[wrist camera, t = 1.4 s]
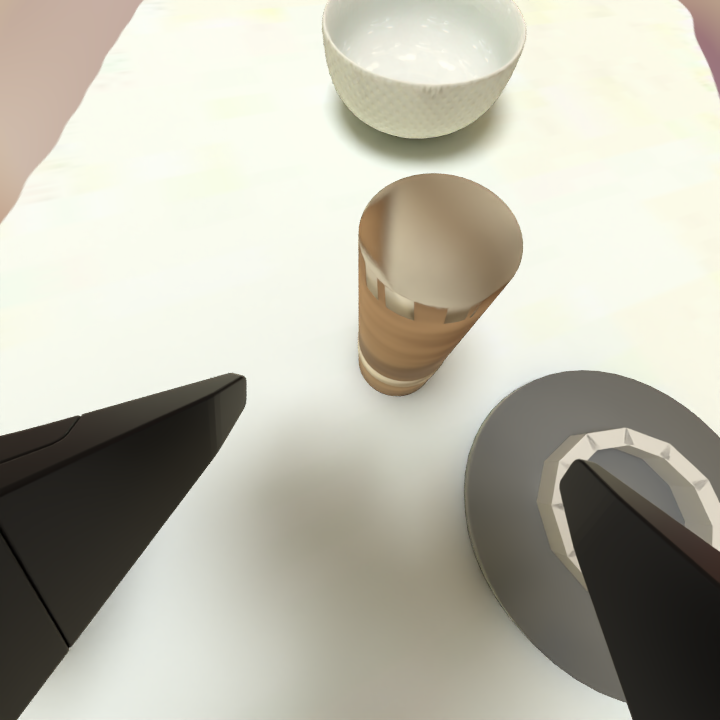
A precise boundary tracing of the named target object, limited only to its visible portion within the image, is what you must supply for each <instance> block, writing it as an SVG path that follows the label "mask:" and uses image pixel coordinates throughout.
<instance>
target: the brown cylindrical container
mask: <svg viewBox="0 0 720 720" xmlns="http://www.w3.org/2000/svg"><path fill="white" fill-rule="evenodd" d="M358 251H359V332H358V352H359V366H360V370H361V373H362V375H363V377H364V379H365V380H366V381H367V383H368V384H369V385H370V386H371V387H373V388H374V389H375V390H377V391H379V392H381V393H383V394H386V395H391V396H403V395H408V394H411V393H413V392H415V391H417V390H418V389H420V388H421V387H422V386H423V385H424V384H425V383H426V382H427V380H428V379H429V378H430V377H431V376H432V375H433V374H434V373H435V372H436V371H437V370H438V368H439V367H440V366H441V365H442V363H443V362H444V360H445V359H446V357H447V356H448V355H449V354H450V353H451V351H452V350H453V349H454V348H455V347H456V345H457V344H458V343H459V342H460V341H461V339H462V338H463V337H464V336H465V335H466V333H467V332H468V331H469V330H470V329H471V327H472V326H473V325H474V324H475V323H476V321H477V320H478V319H479V318H480V317H481V315H482V314H483V313H484V312H485V311H486V309H487V308H488V307H489V306H490V305H491V303H492V302H493V301H494V300H495V299H496V297H497V296H498V295H499V294H500V292H501V291H502V290H503V289H504V288H505V286H506V285H507V284H508V283H509V282H510V280H511V279H512V278H513V277H514V275H515V273H516V271H517V270H518V268H519V265H520V262H521V259H522V253H523V239H522V233H521V230H520V227H519V224H518V222H517V220H516V218H515V216H514V215H513V213H512V211H511V210H510V209H509V207H508V206H507V205H506V204H505V203H504V202H503V201H502V200H501V199H500V198H499V197H498V196H497V195H495V194H494V193H493V192H491V191H490V190H489V189H487V188H485V187H483V186H482V185H480V184H478V183H476V182H473V181H471V180H468V179H465V178H462V177H458V176H454V175H448V174H436V173H431V174H419V175H413V176H410V177H406V178H403V179H400V180H398V181H395V182H393V183H391V184H390V185H388V186H386V187H385V188H383V189H382V190H381V191H379V192H378V193H377V194H376V195H375V196H374V197H373V198H372V199H371V201H370V202H369V203H368V205H367V206H366V208H365V210H364V212H363V214H362V217H361V220H360V224H359V234H358Z"/></svg>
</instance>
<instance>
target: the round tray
mask: <svg viewBox="0 0 720 720" xmlns="http://www.w3.org/2000/svg"><path fill="white" fill-rule="evenodd" d="M576 459H583V460H587V461H591V462H595V463H597V464H598V465H600V466H601V467H602V468H604V469H605V470H607V471H608V472H609V473H611V474H612V475H614V476H615V477H616V478H618V479H619V480H621V481H622V482H623V483H625V484H626V485H628V486H629V487H630V488H632V489H633V490H635V491H636V492H637V493H639V494H640V495H642V496H643V497H644V498H646V499H647V500H649V501H650V502H651V503H653V504H654V505H655V506H657V507H658V508H660V509H661V510H662V511H664V512H665V513H667V514H668V515H669V516H671V517H672V518H674V519H675V520H676V521H678V522H679V523H681V524H682V525H683V526H685V527H686V528H688V529H689V530H690V531H692V532H693V533H695V534H696V535H697V536H699V537H700V538H702V539H703V540H704V541H706V542H707V543H709V544H710V545H711V546H713V547H714V548H715V549H717V550H718V551H720V438H719V437H718V435H717V434H716V433H715V432H714V431H713V430H712V429H710V428H709V427H708V426H707V425H706V424H705V423H704V422H703V421H702V420H701V419H700V418H699V417H697V416H696V415H695V414H694V413H692V412H691V411H690V410H689V409H687V408H686V407H685V406H683V405H682V404H680V403H679V402H677V401H676V400H674V399H673V398H671V397H670V396H668V395H666V394H664V393H662V392H661V391H659V390H657V389H655V388H653V387H651V386H649V385H646V384H644V383H641V382H639V381H636V380H634V379H631V378H627V377H624V376H620V375H617V374H612V373H606V372H600V371H585V370H580V371H566V372H561V373H556V374H551V375H548V376H545V377H542V378H540V379H537V380H534V381H532V382H530V383H528V384H526V385H524V386H522V387H520V388H519V389H517V390H515V391H513V392H512V393H511V394H509V395H508V396H507V397H505V398H504V399H503V400H502V401H501V402H500V403H499V404H498V405H497V406H496V407H495V408H494V409H493V410H492V411H491V412H490V414H489V415H488V416H487V418H486V419H485V421H484V422H483V423H482V425H481V427H480V429H479V431H478V433H477V435H476V437H475V439H474V442H473V445H472V448H471V450H470V453H469V457H468V462H467V467H466V472H465V485H464V500H465V514H466V520H467V526H468V532H469V536H470V539H471V543H472V546H473V549H474V553H475V556H476V558H477V561H478V563H479V565H480V568H481V570H482V573H483V575H484V577H485V579H486V581H487V583H488V584H489V586H490V588H491V590H492V592H493V594H494V596H495V597H496V599H497V600H498V602H499V603H500V604H501V606H502V607H503V609H504V610H505V612H506V613H507V615H508V616H509V617H510V619H511V620H512V621H513V622H514V623H515V624H516V625H517V627H518V628H519V629H520V630H521V631H522V632H523V634H524V635H525V636H526V637H527V638H528V639H529V640H530V641H531V642H532V643H533V644H534V645H535V646H536V647H537V648H538V649H539V650H540V651H541V652H542V653H543V654H544V655H546V656H547V657H548V658H549V659H550V660H551V661H552V662H553V663H554V664H555V665H557V666H558V667H560V668H561V669H562V670H564V671H565V672H566V673H568V674H569V675H570V676H572V677H573V678H575V679H576V680H578V681H579V682H581V683H583V684H585V685H587V686H588V687H590V688H592V689H594V690H596V691H597V692H599V693H602V694H604V695H607V696H610V697H612V698H615V699H617V700H620V701H622V702H626V699H625V696H624V694H623V691H622V688H621V685H620V682H619V679H618V676H617V673H616V670H615V668H614V665H613V662H612V659H611V656H610V653H609V650H608V647H607V644H606V641H605V639H604V636H603V633H602V630H601V627H600V624H599V621H598V618H597V615H596V612H595V610H594V607H593V604H592V601H591V598H590V595H589V592H588V589H587V586H586V583H585V581H584V578H583V575H582V572H581V569H580V566H579V563H578V560H577V557H576V554H575V551H574V548H573V544H572V540H571V536H570V532H569V528H568V524H567V519H566V515H565V511H564V507H563V503H562V499H561V494H560V490H559V484H560V480H561V478H562V477H563V476H564V474H565V473H566V471H567V470H568V468H569V467H570V465H571V464H572V462H573V461H574V460H576ZM626 703H627V702H626Z"/></svg>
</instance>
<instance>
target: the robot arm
mask: <svg viewBox="0 0 720 720" xmlns="http://www.w3.org/2000/svg"><path fill="white" fill-rule="evenodd" d="M245 405H246V378H245V377H244V376H243V375H239V374H235V373H228V374H224V375H221V376H217V377H214V378H210V379H206V380H203V381H199V382H196V383H192V384H189V385H185V386H181V387H178V388H174V389H171V390H167V391H164V392H160V393H156V394H153V395H149V396H146V397H142V398H139V399H135V400H131V401H128V402H124V403H121V404H117V405H114V406H110V407H106V408H103V409H99V410H96V411H92V412H89V413H85V414H82V415H81V416H74V417H70V418H67V419H63V420H60V421H56V422H52V423H49V424H45V425H41V426H37V427H34V428H30V429H26V430H23V431H18V432H14V433H10V434H6V435H2V436H0V720H17V719H18V718H19V716H20V715H21V714H22V712H23V711H24V710H25V708H26V707H27V706H28V704H29V703H30V702H31V700H32V699H33V698H34V696H35V695H36V694H37V692H38V691H39V690H40V688H41V687H42V686H43V684H44V683H45V682H46V680H47V679H48V678H49V676H50V675H51V674H52V673H53V671H54V670H55V669H56V667H57V666H58V665H59V663H60V662H61V661H62V659H63V658H64V657H65V655H66V654H67V653H68V651H69V647H71V646H72V645H73V644H74V643H75V642H76V640H77V639H78V638H79V636H80V635H81V634H82V632H83V631H84V630H85V628H86V627H87V626H88V624H89V623H90V622H91V620H92V619H93V618H94V616H95V615H96V614H97V612H98V611H99V610H100V608H101V607H102V606H103V604H104V603H105V602H106V600H107V599H108V598H109V596H110V595H111V594H112V592H113V591H114V590H115V588H116V587H117V586H118V584H119V583H120V582H121V580H122V579H123V578H124V577H125V575H126V574H127V573H128V571H129V570H130V569H131V567H132V566H133V565H134V563H135V562H136V561H137V559H138V558H139V557H140V555H141V554H142V553H143V551H144V550H145V549H146V547H147V546H148V545H149V543H150V542H151V541H152V539H153V538H154V537H155V535H156V534H157V533H158V531H159V530H160V529H161V527H162V526H163V525H164V523H165V522H166V521H167V519H168V518H169V517H170V515H171V514H172V513H173V512H174V510H175V509H176V508H177V506H178V505H179V504H180V502H181V501H182V500H183V498H184V497H185V496H186V494H187V493H188V492H189V490H190V489H191V488H192V486H193V485H194V484H195V482H196V481H197V480H198V478H199V477H200V476H201V474H202V473H203V472H204V470H205V469H206V468H207V466H208V465H209V464H210V462H211V461H212V460H213V458H214V457H215V456H216V454H217V453H218V451H219V450H220V448H221V446H222V445H223V443H224V441H225V440H226V438H227V436H228V435H229V433H230V431H231V430H232V428H233V426H234V425H235V423H236V421H237V420H238V418H239V416H240V415H241V413H242V411H243V409H244V407H245ZM559 490H560V494H561V499H562V503H563V507H564V511H565V515H566V519H567V524H568V528H569V532H570V536H571V540H572V544H573V548H574V551H575V554H576V557H577V560H578V563H579V566H580V569H581V572H582V575H583V578H584V581H585V583H586V586H587V589H588V592H589V595H590V598H591V601H592V604H593V607H594V610H595V612H596V615H597V618H598V621H599V624H600V627H601V630H602V633H603V636H604V639H605V641H606V644H607V647H608V650H609V653H610V656H611V659H612V662H613V665H614V668H615V670H616V673H617V676H618V679H619V682H620V685H621V688H622V691H623V694H624V696H625V699H626V702H627V705H628V708H629V711H630V714H631V717H632V720H720V551H718V550H717V549H715V548H714V547H713V546H711V545H710V544H709V543H707V542H706V541H704V540H703V539H702V538H700V537H699V536H697V535H696V534H695V533H693V532H692V531H690V530H689V529H688V528H686V527H685V526H683V525H682V524H681V523H679V522H678V521H676V520H675V519H674V518H672V517H671V516H669V515H668V514H667V513H665V512H664V511H662V510H661V509H660V508H658V507H657V506H655V505H654V504H653V503H651V502H650V501H649V500H647V499H646V498H644V497H643V496H642V495H640V494H639V493H637V492H636V491H635V490H633V489H632V488H630V487H629V486H628V485H626V484H625V483H623V482H622V481H621V480H619V479H618V478H616V477H615V476H614V475H612V474H611V473H609V472H608V471H607V470H605V469H604V468H602V467H601V466H600V465H598V464H597V463H595V462H591V461H587V460H583V459H576V460H574V461H573V462H572V464H571V465H570V467H569V468H568V470H567V471H566V473H565V474H564V476H563V477H562V478H561V480H560V484H559Z"/></svg>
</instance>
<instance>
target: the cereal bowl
mask: <svg viewBox="0 0 720 720" xmlns="http://www.w3.org/2000/svg"><path fill="white" fill-rule="evenodd" d="M322 33H323V42H324V43H323V44H324V48H325V56H326V61H327V66H328V69H329V74H330V76H331V78H332V82H333V84H334V86H335V89H336V91H337V92H338V94H339V96H340V98H341V99H342V100H343V102H344V104H345V105H347V107H348V109H349V110H350V111H352V112H353V114H354V115H355V116H357V117H358V118H359V119H360V120H362V121H363V122H364V123H366V124H368V125H369V126H371V127H372V128H375V129H377V130H379V131H382V132H385V133H387V134H390V135H393V136H398V137H403V138H411V139H412V138H420V139H422V138H430V137H437V136H442V135H448V134H450V133H452V132H456V131H457V130H459V129H462V128H464V127H465V126H467V125H470V124H471V123H472V122H474V121H476V120H477V119H478V118H479V117H480V116H482V115H483V114H484V113H485V112H486V111H487V110H488V109H489V108H490V107H491V105H492V104H493V103H494V102H495V101H496V99H497V98H498V97H499V96H500V94H501V92H502V91H503V89H504V88H505V86H506V84H507V83H508V81H509V79H510V77H511V76H512V73H513V71H514V69H515V67H516V65H517V62H518V60H519V58H520V56H521V53H522V50H523V47H524V44H525V40H526V24H525V20H524V18H523V15H522V13H521V11H520V9H519V8H518V6H517V5H516V4H515V2H514V1H513V0H329V1H328V2H327V4H326V7H325V9H324V12H323V18H322Z"/></svg>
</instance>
